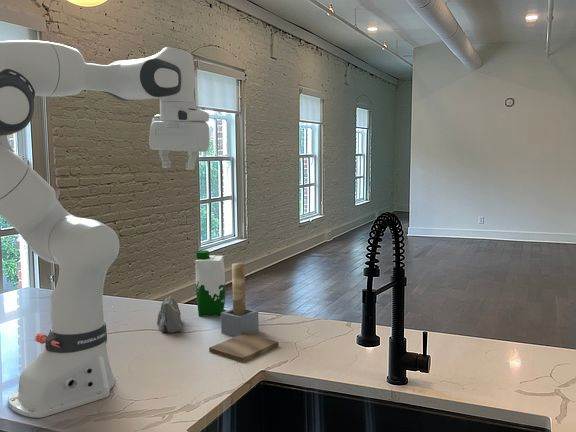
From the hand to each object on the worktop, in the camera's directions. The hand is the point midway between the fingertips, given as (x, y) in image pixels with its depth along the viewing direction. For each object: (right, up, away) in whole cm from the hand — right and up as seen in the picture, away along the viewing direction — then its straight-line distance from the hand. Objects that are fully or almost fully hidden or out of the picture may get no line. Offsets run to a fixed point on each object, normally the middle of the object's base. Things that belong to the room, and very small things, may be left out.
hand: (178, 168), depth 148 cm
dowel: (+15, -46, +17) cm, 51 cm away
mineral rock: (-6, -45, +23) cm, 52 cm away
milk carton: (+4, -43, +36) cm, 56 cm away
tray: (+17, -48, +4) cm, 51 cm away
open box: (+15, -46, +17) cm, 51 cm away
